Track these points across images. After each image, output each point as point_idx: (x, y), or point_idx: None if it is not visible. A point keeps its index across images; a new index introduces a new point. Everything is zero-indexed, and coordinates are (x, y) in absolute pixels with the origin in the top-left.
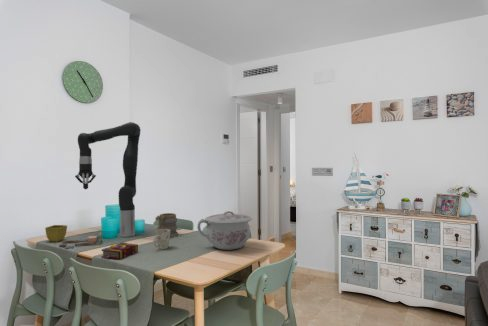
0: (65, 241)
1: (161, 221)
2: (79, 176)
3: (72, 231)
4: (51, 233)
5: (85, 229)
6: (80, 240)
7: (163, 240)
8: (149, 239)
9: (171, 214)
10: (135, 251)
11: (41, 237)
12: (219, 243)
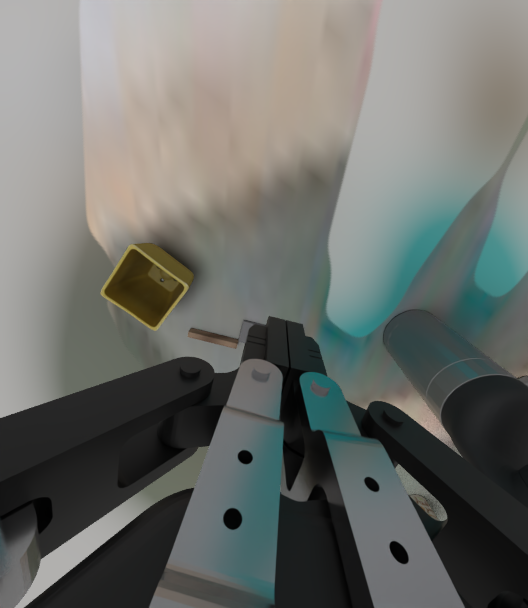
0: (197, 338)
1: None
2: (19, 567)
3: (232, 84)
4: (138, 301)
5: (302, 61)
6: (245, 332)
7: None
8: (437, 421)
9: None
10: None
11: (102, 162)
12: None
